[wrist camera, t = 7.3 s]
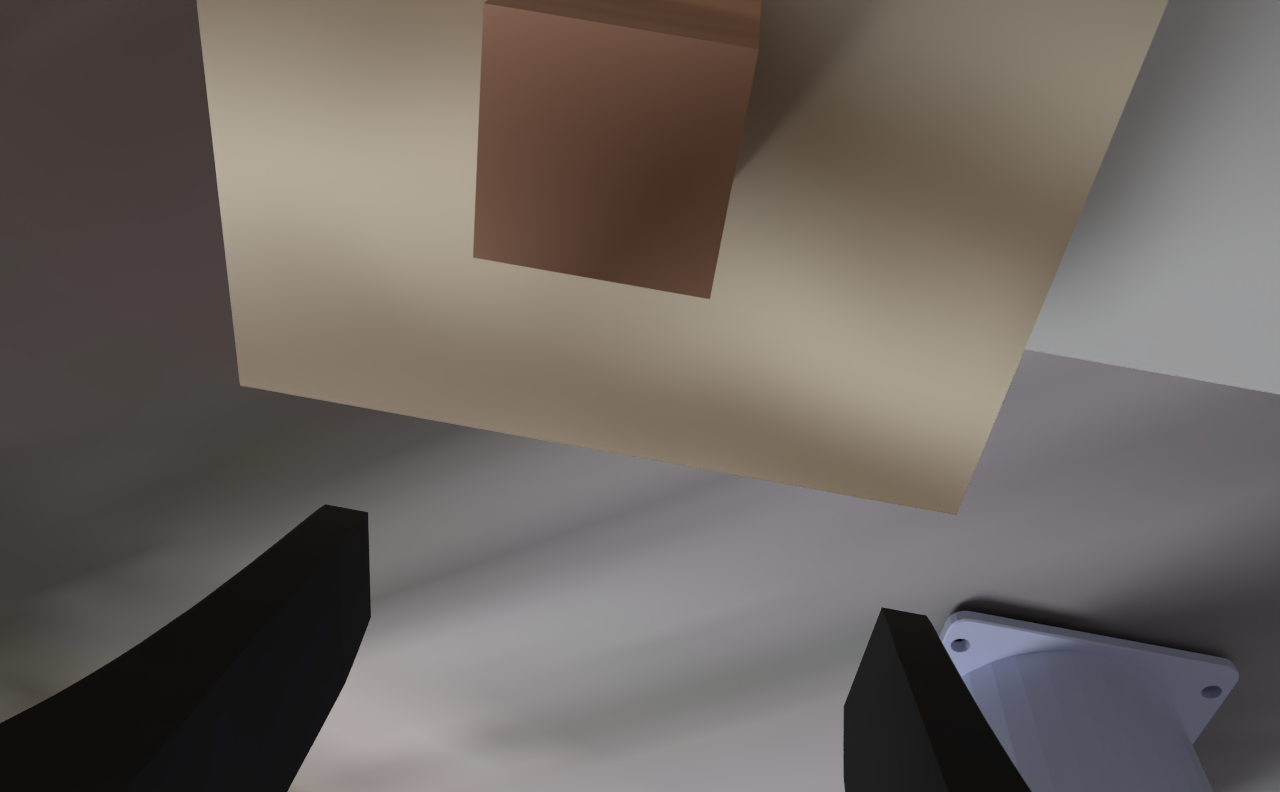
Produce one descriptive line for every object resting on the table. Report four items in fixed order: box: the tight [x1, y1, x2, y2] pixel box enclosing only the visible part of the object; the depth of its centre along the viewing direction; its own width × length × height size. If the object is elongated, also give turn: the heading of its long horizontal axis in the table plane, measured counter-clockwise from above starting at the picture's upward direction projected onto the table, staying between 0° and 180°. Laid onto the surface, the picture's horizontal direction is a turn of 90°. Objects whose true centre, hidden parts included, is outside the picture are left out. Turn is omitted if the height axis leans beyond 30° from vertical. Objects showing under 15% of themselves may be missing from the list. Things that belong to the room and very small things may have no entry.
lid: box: [197, 0, 1169, 515], centre depth 13 cm, size 14×14×5 cm
